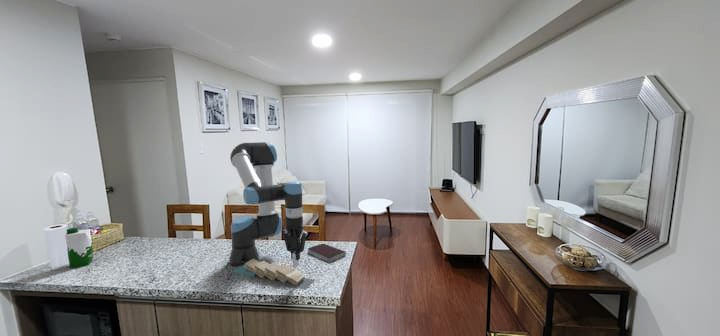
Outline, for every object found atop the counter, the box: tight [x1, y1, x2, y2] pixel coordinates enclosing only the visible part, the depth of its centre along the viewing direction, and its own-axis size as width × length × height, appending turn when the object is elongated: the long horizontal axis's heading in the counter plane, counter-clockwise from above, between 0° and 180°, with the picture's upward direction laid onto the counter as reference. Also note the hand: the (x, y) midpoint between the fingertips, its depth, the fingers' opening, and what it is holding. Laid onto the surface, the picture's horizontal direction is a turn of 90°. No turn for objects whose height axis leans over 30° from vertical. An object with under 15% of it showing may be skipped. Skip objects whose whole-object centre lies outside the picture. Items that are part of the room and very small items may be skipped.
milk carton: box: [64, 227, 94, 269], centre depth 149 cm, size 9×9×20 cm
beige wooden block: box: [254, 260, 277, 281], centre depth 134 cm, size 2×6×12 cm
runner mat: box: [249, 275, 316, 291], centre depth 131 cm, size 31×9×1 cm, turn 70°
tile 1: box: [275, 264, 306, 286], centre depth 129 cm, size 2×6×12 cm
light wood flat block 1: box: [244, 258, 266, 279], centre depth 136 cm, size 2×6×12 cm
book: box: [307, 243, 347, 263], centre depth 160 cm, size 12×19×3 cm, turn 48°
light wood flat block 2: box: [265, 262, 287, 283], centre depth 131 cm, size 2×6×12 cm
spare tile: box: [233, 265, 256, 277], centre depth 138 cm, size 2×6×12 cm
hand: (295, 266), depth 128 cm, fingers closed
